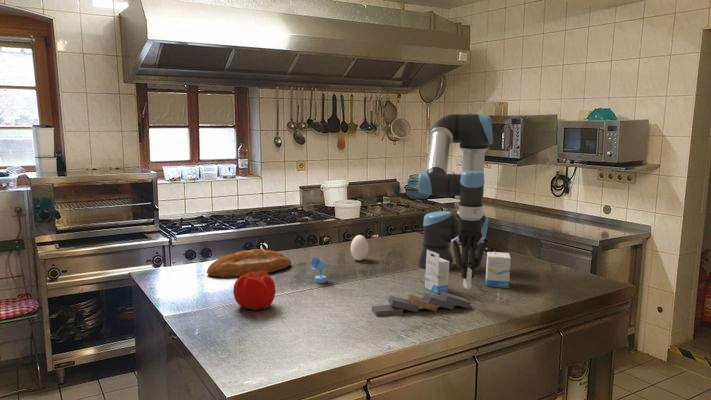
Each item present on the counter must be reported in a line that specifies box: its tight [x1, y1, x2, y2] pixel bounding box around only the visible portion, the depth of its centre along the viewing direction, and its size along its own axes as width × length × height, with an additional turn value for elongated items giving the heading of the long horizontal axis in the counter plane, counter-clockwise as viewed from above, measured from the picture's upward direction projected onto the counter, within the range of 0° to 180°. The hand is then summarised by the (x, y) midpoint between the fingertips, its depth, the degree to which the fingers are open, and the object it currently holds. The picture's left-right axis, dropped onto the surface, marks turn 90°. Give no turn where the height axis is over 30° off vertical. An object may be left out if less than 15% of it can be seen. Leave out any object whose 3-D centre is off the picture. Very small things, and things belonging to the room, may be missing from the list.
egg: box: [350, 234, 369, 261], centre depth 231 cm, size 8×8×11 cm
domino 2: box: [387, 295, 420, 313], centre depth 170 cm, size 5×2×9 cm
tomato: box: [232, 271, 276, 311], centre depth 171 cm, size 13×14×12 cm
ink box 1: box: [424, 249, 450, 295], centre depth 191 cm, size 8×5×15 cm, turn 26°
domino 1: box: [371, 304, 404, 317], centre depth 169 cm, size 5×2×9 cm
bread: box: [206, 248, 292, 278], centre depth 213 cm, size 18×35×9 cm, turn 118°
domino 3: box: [422, 291, 456, 311], centre depth 173 cm, size 5×2×9 cm
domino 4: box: [439, 291, 472, 309], centre depth 174 cm, size 5×2×9 cm
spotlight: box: [309, 256, 329, 284], centre depth 200 cm, size 5×10×7 cm
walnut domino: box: [406, 293, 439, 312], centre depth 171 cm, size 5×2×9 cm
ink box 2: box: [485, 251, 512, 289], centre depth 200 cm, size 9×8×12 cm
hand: (467, 287), depth 175 cm, fingers closed
